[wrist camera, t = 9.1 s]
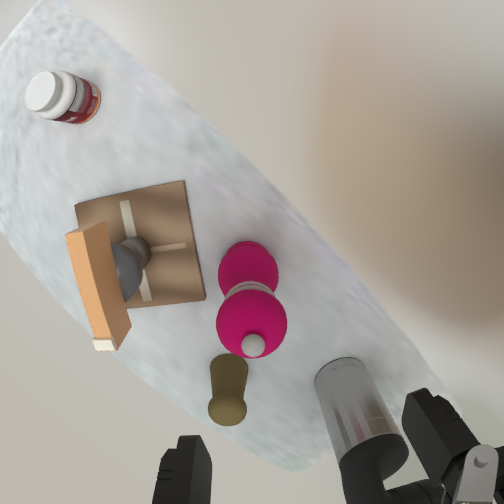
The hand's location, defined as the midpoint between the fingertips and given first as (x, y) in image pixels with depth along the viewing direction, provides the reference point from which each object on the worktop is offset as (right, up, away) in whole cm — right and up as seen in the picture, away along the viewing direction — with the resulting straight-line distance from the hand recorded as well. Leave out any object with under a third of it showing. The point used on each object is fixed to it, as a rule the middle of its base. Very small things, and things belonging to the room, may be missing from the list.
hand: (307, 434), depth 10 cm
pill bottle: (-25, +27, +23) cm, 44 cm away
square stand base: (-17, +7, +30) cm, 35 cm away
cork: (-6, -12, +36) cm, 38 cm away
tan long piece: (-17, +5, +22) cm, 28 cm away
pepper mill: (-3, +5, +31) cm, 31 cm away
